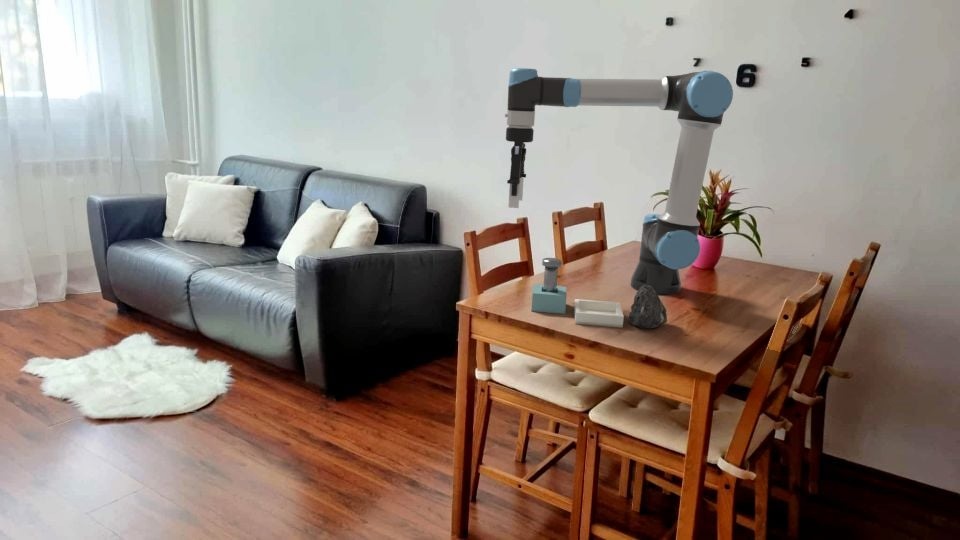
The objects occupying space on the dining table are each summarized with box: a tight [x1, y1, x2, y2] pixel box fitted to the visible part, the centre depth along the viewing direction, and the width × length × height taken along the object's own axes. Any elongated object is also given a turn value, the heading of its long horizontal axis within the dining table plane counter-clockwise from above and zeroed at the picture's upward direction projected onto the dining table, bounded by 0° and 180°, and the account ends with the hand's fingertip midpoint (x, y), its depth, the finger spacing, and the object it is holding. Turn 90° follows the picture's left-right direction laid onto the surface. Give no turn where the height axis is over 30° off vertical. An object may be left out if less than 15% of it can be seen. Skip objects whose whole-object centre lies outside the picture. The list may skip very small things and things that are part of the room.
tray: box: [573, 298, 624, 328], centre depth 178 cm, size 12×12×3 cm
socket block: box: [531, 283, 567, 315], centre depth 185 cm, size 9×9×5 cm
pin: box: [541, 257, 563, 293], centre depth 183 cm, size 5×5×13 cm
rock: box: [626, 285, 668, 329], centre depth 174 cm, size 12×10×10 cm
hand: (515, 203), depth 190 cm, fingers open, 13 cm apart
